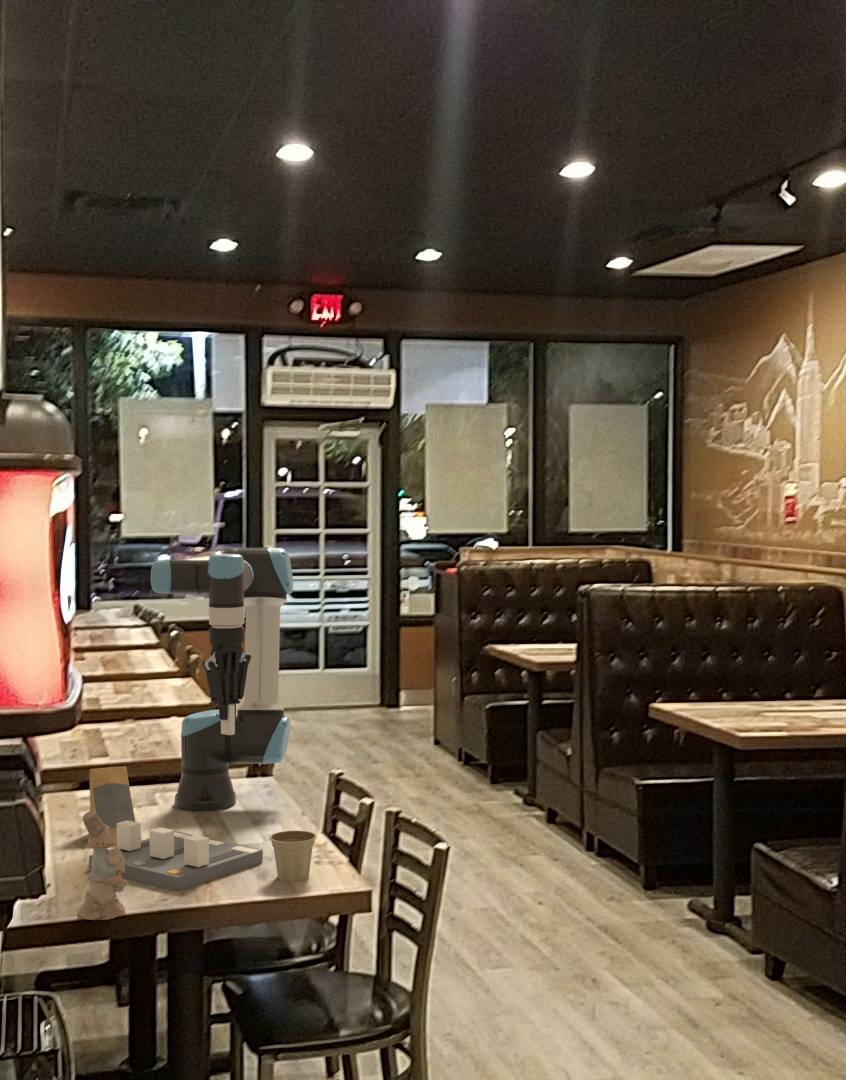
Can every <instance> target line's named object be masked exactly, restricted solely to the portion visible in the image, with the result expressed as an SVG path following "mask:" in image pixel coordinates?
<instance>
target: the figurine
mask: <svg viewBox="0 0 846 1080" xmlns="http://www.w3.org/2000/svg"><path fill="white" fill-rule="evenodd" d="M82 822H83V824H84V827H85V829H86V830H87V833H88V834H89V835H88V836H89V838H88V840H87V844H88V846H89V847H90V849H93V853H92V855H93V858H92V863H91V866H92V870H91V871H90V872H89V873H88V874H87V880H88V881H89V884H90V886H89V889H86V890H85V897H84V903H83V904H82V906H80V909H79V910H78V911H77V915H78V916H79V917H80V918H83V919H85V920H87V921H88V920H91V921H105V920H111V919H115V918H117V917H122V916H123V915H125V914H126V908H125V906H124V904H123V903H122V902H121V901H120V900H119V899H118V895H117V892H118V893H121V892H124V887H127V886H128V885H129V882H128V881H127V879H124V878H122V877H121V873H123V872H125V865H124V861H125V860H124V858H123V856H122V852H121V850H120V848H118V849H116V850H113V851H108V850H109V848H108V847H109V846H112V845H114V844H116V839H115V833H110V829H111V828H110V827H109V826H107V825H105V824H104V823H103V822H102V820H101V819H100V817H99V816H98V814H97V813H96V812H95V811H90V810H88V811H87V812H86V813H84V814H83V817H82Z"/></svg>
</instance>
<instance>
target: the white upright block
mask: <svg viewBox="0 0 846 1080" xmlns="http://www.w3.org/2000/svg"><path fill="white" fill-rule="evenodd" d="M192 835H193V836H189V837H186V838H184V864H187V865H191V866H195V867H201V866H204V865H207V864H209V838H210V837H207V836H202V835H197V834H192Z"/></svg>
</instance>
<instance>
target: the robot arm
mask: <svg viewBox="0 0 846 1080" xmlns="http://www.w3.org/2000/svg"><path fill="white" fill-rule="evenodd" d="M150 585H151V589H152V591H153V592H154V593H156V594H165V595H171V594H173V595H174V594H176V595H178V594H183V595H184V594H208V615H209V616H208V619H209V620H208V624H209V625H210V627H209V628H208V631H209V634H208V636H209V637H208V639H209V642H208V643H209V644H210V645H211V651H210V657H209V658H208V659H207V660H203V661H202V664H201V665H202V666H203V669H204V671H205V674H206V679H207V684H208V689H209V696H210V699H211V703H213V704H216V705H218V709H211V710H205V711H200V712H195V713H191V714H189V715H187V716H185V717H184V718H183V720H182V721H181V730H180V731H181V733H180V745H181V748H180V749H181V750H180V751H181V752H180V753H181V757H180V758H181V774H180V776H181V777H180V779H179V783H178V786H177V792H176V793H175V795H174V807H175V808H176V809H178V810H180V811H181V810H182V811H185V812H186V811H187V812H199V813H200V812H213V811H222V810H226V809H229V808H232V807H234V806H235V805H236V804H237V795H236V792H235V790H234V787H233V783H232V779H231V776H230V770H229V769H230V767H229V765H230V764H242V765H243V764H249V765H250V764H252V765H253V764H261V765H266V764H268V765H269V764H279V763H281V762H282V761H283V760H284V758H285V756H286V753H287V750H288V745H289V739H290V734H291V733H290V732H291V731H290V730H291V718H290V717H289V716H287V715H285V708H284V707H283V706H282V705H281V704H280V703H279V687H280V686H279V681H280V680H279V678H280V677H279V675H280V673H279V671H280V641H281V640H280V638H281V636H280V635H281V634H280V632H281V628H280V626H281V607H282V606H283V605H285V603H286V602H287V598H288V597H287V596H288V595H290V594H292V593H293V591H294V578H293V569H292V564H291V559H290V556H289V554H288V551H286V550H285V549H284V548H281V547H280V548H279V547H270V546H268V547H264V546H263V547H223V548H218V549H214V550H209V551H205V552H201V553H198V554H196V555H195V556H194V557H192V558H191V557H190V558H182V559H168V558H167V559H162V560H161V559H160V560H159V559H158V560H154V561H153V563H152V566H151V569H150ZM245 610H246V611H245ZM244 624H245V627H244V626H243V625H244ZM242 644H245V645H244V646H245V647H244V648H243V646H242ZM241 700H243V702H242V704H241V705H240V706H239V707H238V708H237V705H239V704H240V703H241Z"/></svg>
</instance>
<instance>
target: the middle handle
mask: <svg viewBox="0 0 846 1080" xmlns="http://www.w3.org/2000/svg"><path fill="white" fill-rule="evenodd" d="M174 831H175V830H174V829H171V828H164V827H157V828H154V829H150V830H149V838H150V856H153V857H157V858H161V859H165V858H168V857H171V856H174Z"/></svg>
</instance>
